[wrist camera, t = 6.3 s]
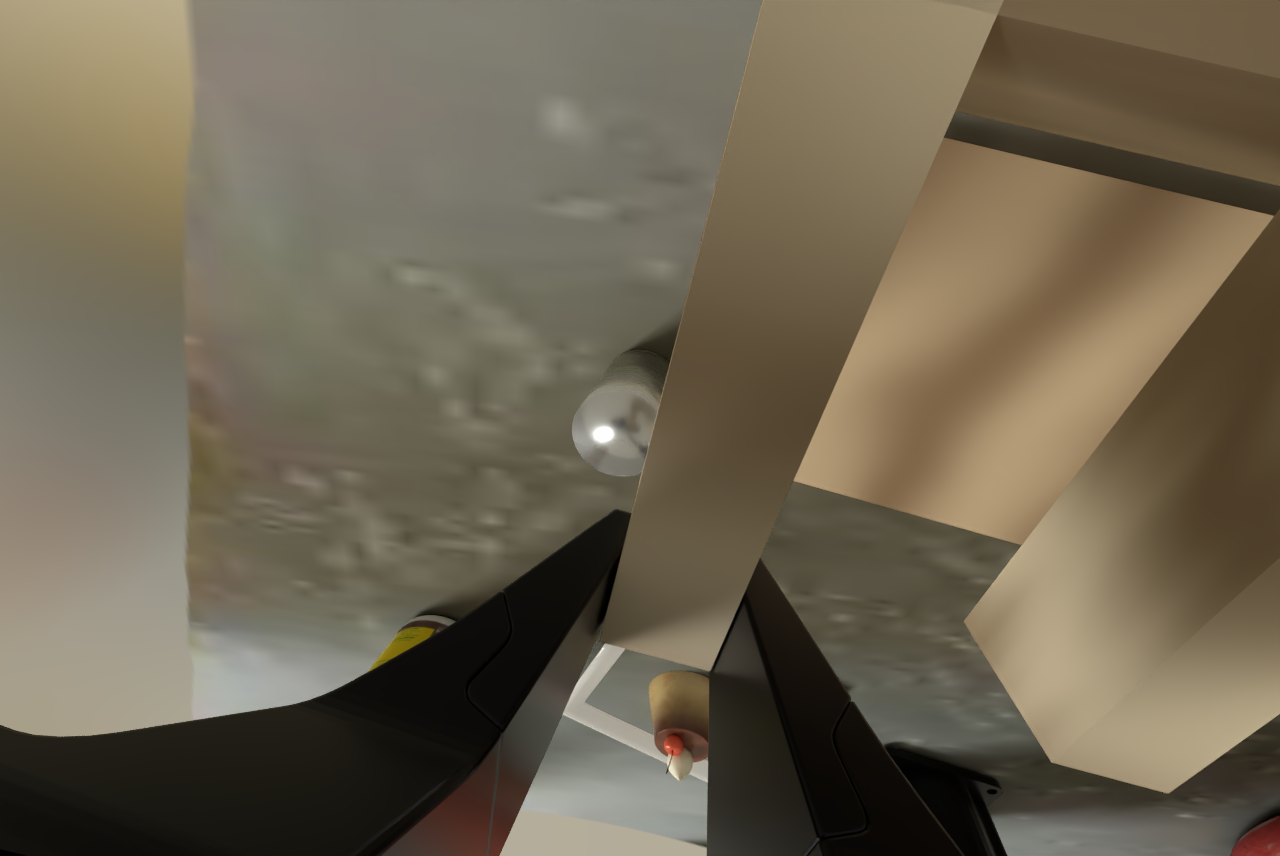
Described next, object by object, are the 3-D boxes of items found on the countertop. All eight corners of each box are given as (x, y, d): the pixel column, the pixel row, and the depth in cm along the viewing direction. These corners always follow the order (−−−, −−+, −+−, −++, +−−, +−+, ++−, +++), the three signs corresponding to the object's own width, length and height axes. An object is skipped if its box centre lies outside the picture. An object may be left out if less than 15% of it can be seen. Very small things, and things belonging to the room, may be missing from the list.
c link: (795, -130, 6) (871, -420, 3) (1597, 47, 6) (2425, -106, 3) (626, 533, 11) (599, 641, 8) (1050, 644, 10) (1167, 793, 8)
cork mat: (1297, 225, 13) (1322, 227, 12) (1034, 541, 19) (1043, 550, 18) (910, 133, 13) (918, 131, 13) (769, 466, 19) (770, 474, 19)
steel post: (687, 360, 18) (674, 407, 14) (668, 427, 19) (652, 486, 15) (612, 340, 18) (579, 381, 14) (599, 408, 19) (566, 462, 15)
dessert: (641, 582, 24) (622, 664, 20) (838, 679, 25) (860, 779, 20) (561, 695, 30) (533, 777, 26) (723, 772, 30) (722, 864, 26)
